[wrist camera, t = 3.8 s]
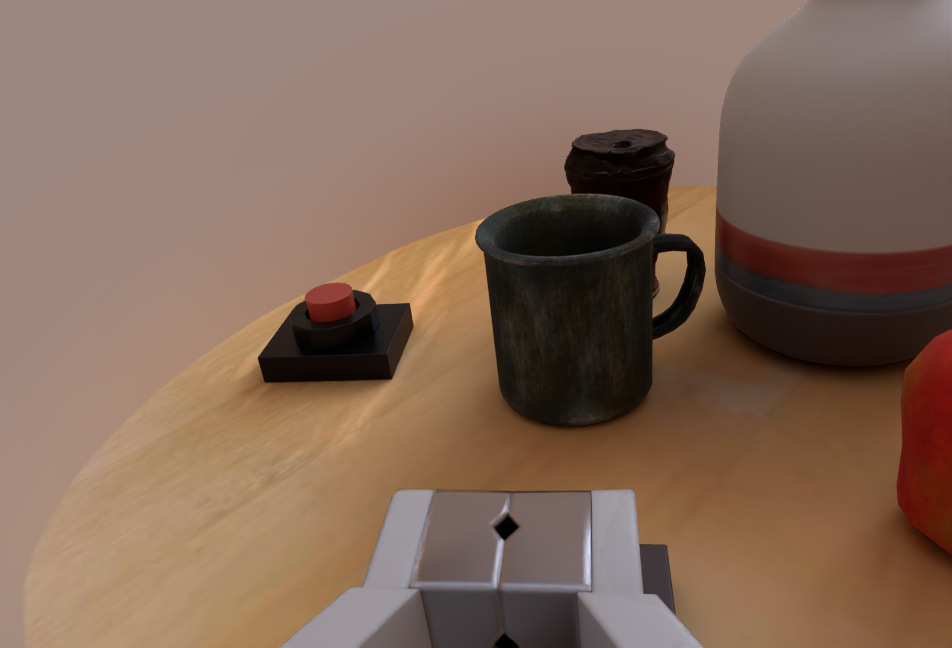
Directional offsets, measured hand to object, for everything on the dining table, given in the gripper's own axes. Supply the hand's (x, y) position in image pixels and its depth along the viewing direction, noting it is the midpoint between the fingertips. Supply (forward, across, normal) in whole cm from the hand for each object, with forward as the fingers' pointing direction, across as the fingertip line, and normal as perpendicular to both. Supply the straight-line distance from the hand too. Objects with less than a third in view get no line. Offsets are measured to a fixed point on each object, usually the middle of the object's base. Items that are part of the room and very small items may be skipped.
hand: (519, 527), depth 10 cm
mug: (+37, -1, +22) cm, 43 cm away
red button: (+42, +19, +18) cm, 49 cm away
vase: (+44, -18, +22) cm, 52 cm away
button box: (+42, +19, +22) cm, 51 cm away
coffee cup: (+51, -3, +22) cm, 55 cm away
